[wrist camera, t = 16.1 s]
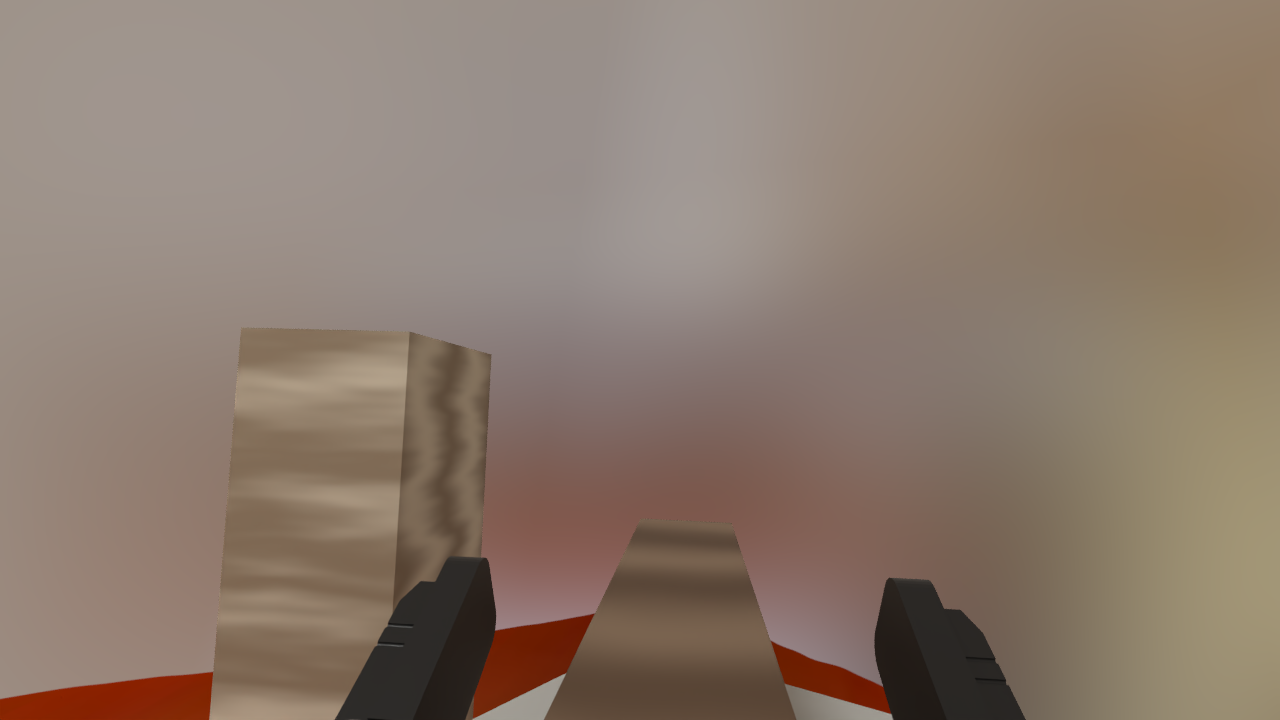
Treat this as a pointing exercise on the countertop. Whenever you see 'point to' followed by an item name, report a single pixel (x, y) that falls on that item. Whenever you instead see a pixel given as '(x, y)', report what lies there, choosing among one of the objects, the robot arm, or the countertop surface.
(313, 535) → the tall stand
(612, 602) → the long wooden bar
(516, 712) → the short block
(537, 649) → the countertop surface
